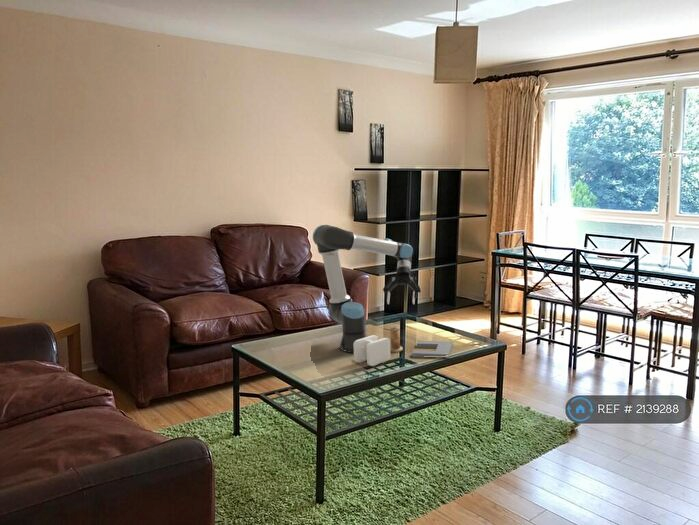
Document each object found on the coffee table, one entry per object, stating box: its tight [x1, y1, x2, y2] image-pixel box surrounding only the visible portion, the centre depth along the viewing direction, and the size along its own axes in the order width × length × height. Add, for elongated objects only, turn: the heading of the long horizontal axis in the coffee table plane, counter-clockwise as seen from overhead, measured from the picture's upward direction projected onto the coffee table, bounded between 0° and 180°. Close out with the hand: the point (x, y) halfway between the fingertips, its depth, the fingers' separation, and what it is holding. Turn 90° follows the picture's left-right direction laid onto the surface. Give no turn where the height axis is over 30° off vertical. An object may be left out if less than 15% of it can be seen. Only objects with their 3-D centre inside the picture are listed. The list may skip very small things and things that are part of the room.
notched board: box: [411, 340, 454, 358], centre depth 290 cm, size 18×20×2 cm
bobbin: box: [389, 325, 403, 353], centre depth 294 cm, size 7×7×12 cm
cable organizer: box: [353, 334, 391, 367], centre depth 278 cm, size 15×11×12 cm
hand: (400, 303), depth 305 cm, fingers open, 13 cm apart
